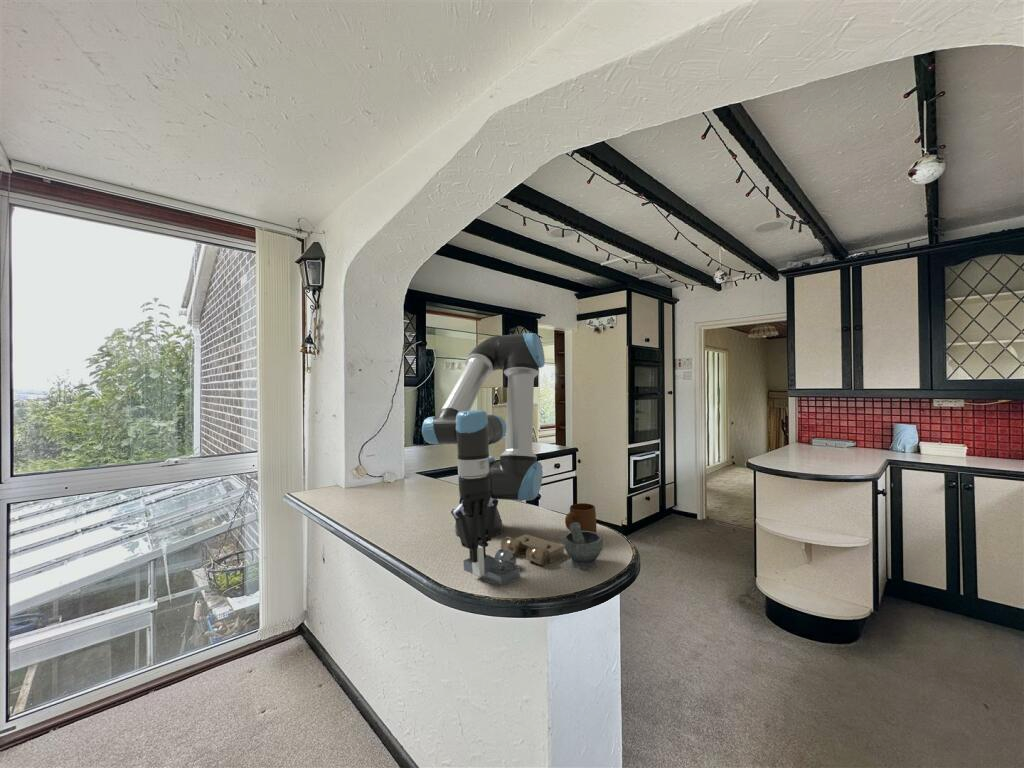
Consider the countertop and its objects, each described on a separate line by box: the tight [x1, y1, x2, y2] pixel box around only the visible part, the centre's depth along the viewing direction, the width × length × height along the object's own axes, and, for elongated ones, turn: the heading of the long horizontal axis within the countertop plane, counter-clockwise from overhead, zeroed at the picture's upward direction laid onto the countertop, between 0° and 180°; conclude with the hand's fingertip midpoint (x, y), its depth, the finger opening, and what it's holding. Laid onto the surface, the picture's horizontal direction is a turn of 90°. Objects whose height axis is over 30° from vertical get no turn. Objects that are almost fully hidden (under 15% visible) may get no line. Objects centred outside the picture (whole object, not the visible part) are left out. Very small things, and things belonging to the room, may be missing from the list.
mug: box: [564, 502, 598, 533], centre depth 119 cm, size 12×8×9 cm, turn 136°
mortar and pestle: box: [562, 522, 604, 571], centre depth 103 cm, size 11×9×12 cm
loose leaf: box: [462, 548, 521, 588], centre depth 102 cm, size 14×10×4 cm
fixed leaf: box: [500, 534, 565, 566], centre depth 111 cm, size 14×10×4 cm
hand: (478, 573), depth 98 cm, fingers closed
